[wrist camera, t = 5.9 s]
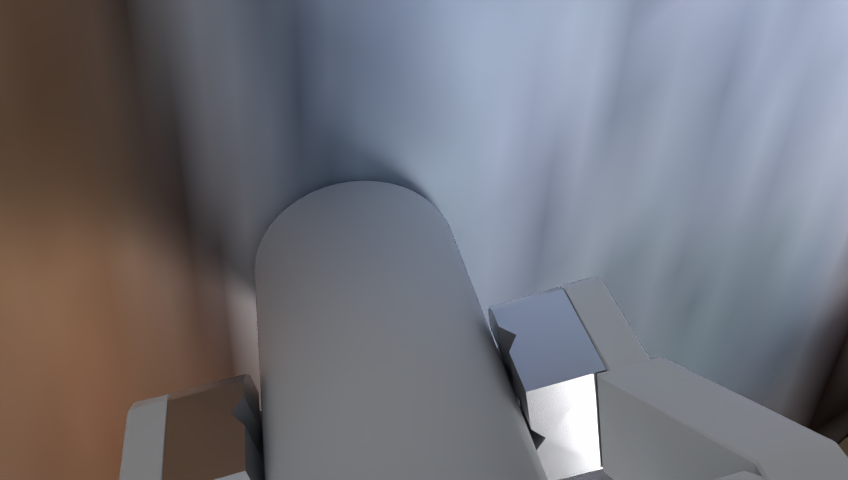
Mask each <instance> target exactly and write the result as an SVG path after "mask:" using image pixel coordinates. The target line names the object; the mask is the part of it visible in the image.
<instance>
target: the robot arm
mask: <svg viewBox="0 0 848 480" xmlns="http://www.w3.org/2000/svg"><path fill="white" fill-rule="evenodd" d="M489 319H490V325H491V330H492V332H493V335H494V337H495V340H496V343H497V345H498V348H497V350H498V353H499V355H500V358H501V361H502V363H503V366H504V368H505V371H506V373H507V376H508V379H509V381H510V384H511V386H512V389H513V391H514V394H515V397H516V399H517V402H518V404H519V407H520V409H521V412H522V415H523V417H524V420H525V422H526V425H527V427H528V430H529V433H530V435H531V438H532V440H533V443H534V445H535V448H536V451H537V453H538V456H539V458H540V461H541V464H542V466H543V469H544V471H545V474H546V476H547V479H548V480H560V479H564V478H568V477H572V476H576V475H580V474H584V473H588V472H591V471H595V470H599V469H603V472H604V473H605V474H607V475H608V476H609V477H611V478H612V479H613V480H848V457H847V456H846V455H845V453H844V452H843V451H842V449H841V448H840V447H839V446H838V444H837V443H836V442H835V441H833V440H831V439H829V438H827V437H825V436H823V435H821V434H818V433H816V432H814V431H812V430H810V429H808V428H806V427H804V426H802V425H800V424H798V423H796V422H794V421H792V420H790V419H788V418H786V417H784V416H782V415H780V414H778V413H776V412H774V411H772V410H770V409H768V408H766V407H764V406H762V405H759V404H757V403H755V402H753V401H751V400H749V399H747V398H745V397H743V396H741V395H739V394H737V393H735V392H733V391H731V390H729V389H727V388H725V387H723V386H721V385H719V384H717V383H715V382H713V381H711V380H709V379H707V378H705V377H703V376H700V375H698V374H696V373H694V372H692V371H690V370H688V369H686V368H684V367H682V366H680V365H678V364H676V363H674V362H672V361H670V360H668V359H666V358H664V357H662V356H661V357H657V358H653V359H650V358H649V356H648V354H647V353H646V351H645V349H644V348H643V346H642V345H641V343H640V341H639V340H638V338H637V336H636V335H635V333H634V332H633V330H632V328H631V327H630V325H629V323H628V322H627V320H626V318H625V317H624V315H623V314H622V312H621V310H620V309H619V307H618V305H617V304H616V302H615V301H614V299H613V297H612V296H611V294H610V292H609V291H608V289H607V287H606V286H605V284H604V283H603V281H602V280H601V279H600V278H598V277H597V276H594V277H591V278H587V279H584V280H580V281H577V282H573V283H570V284H566V285H563V286H561V287H560V288H558V287H557V288H553V289H550V290H546V291H543V292H539V293H536V294H532V295H529V296H525V297H522V298H518V299H515V300H511V301H508V302H504V303H501V304H497V305H493V306H490V307H489ZM119 480H265V465H264V445H263V425H262V411H260V410H259V395H258V391H257V389H256V387H255V385H254V383H253V381H252V379H251V377H250V376H249V375H247V374H243V375H239V376H235V377H231V378H227V379H223V380H219V381H215V382H211V383H207V384H203V385H199V386H195V387H191V388H187V389H183V390H179V391H175V392H172V393H171V394H167V395H163V396H159V397H155V398H150V399H146V400H142V401H138V402H134V403H133V404H132V406H131V408H130V409H129V411H128V413H127V420H126V428H125V435H124V443H123V451H122V459H121V467H120V474H119Z"/></svg>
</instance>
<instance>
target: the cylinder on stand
mask: <svg viewBox="0 0 848 480" xmlns="http://www.w3.org/2000/svg"><path fill="white" fill-rule="evenodd" d="M838 446H839V447H840V448H841V449H842V451H843V452H844V453H845V455H846V456H847V457H848V437H847V438H845V439H844V440H843V441H842V442H841V443H840V444H838Z"/></svg>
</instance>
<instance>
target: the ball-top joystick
mask: <svg viewBox="0 0 848 480" xmlns="http://www.w3.org/2000/svg"><path fill="white" fill-rule="evenodd" d="M255 286H256V306H257V326H258V346H259V365H260V385H261V405H262V425H263V445H264V465H265V480H548V479H547V476H546V474H545V471H544V469H543V466H542V464H541V461H540V458H539V456H538V453H537V451H536V448H535V445H534V443H533V440H532V438H531V435H530V433H529V430H528V427H527V425H526V422H525V420H524V417H523V415H522V412H521V409H520V407H519V404H518V402H517V399H516V397H515V394H514V391H513V389H512V386H511V384H510V381H509V379H508V376H507V373H506V371H505V368H504V366H503V363H502V361H501V358H500V355H499V353H498V350H497V348H496V345H495V342H494V340H493V337H492V335H491V332H490V330H489V327H488V324H487V322H486V319H485V317H484V314H483V312H482V309H481V306H480V304H479V301H478V299H477V296H476V294H475V291H474V288H473V286H472V283H471V281H470V278H469V276H468V273H467V270H466V268H465V265H464V263H463V260H462V258H461V255H460V252H459V250H458V247H457V245H456V242H455V239H454V237H453V234H452V232H451V229H450V227H449V224H448V223H447V221H446V219H445V218H444V216H443V215H442V214H441V212H440V211H439V210H438V209H437V208H436V207H435V206H434V205H433V204H432V203H431V202H429V201H428V200H427V199H426V198H424V197H423V196H421V195H419V194H418V193H416V192H414V191H412V190H409V189H407V188H405V187H402V186H398V185H395V184H391V183H386V182H380V181H350V182H344V183H338V184H334V185H331V186H327V187H324V188H321V189H319V190H316V191H314V192H311V193H309V194H308V195H306V196H304V197H302V198H300V199H298V200H297V201H296V202H294V203H293V204H291V205H290V206H288V207H287V208H286V209H285V210H284V211H283V212H282V213H281V214H279V215H278V216H277V218H276V219H275V220H274V221H273V222H272V223H271V225H270V226H269V228H268V229H267V231H266V232H265V234H264V235H263V237H262V240H261V242H260V244H259V247H258V250H257V254H256V259H255Z"/></svg>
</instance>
